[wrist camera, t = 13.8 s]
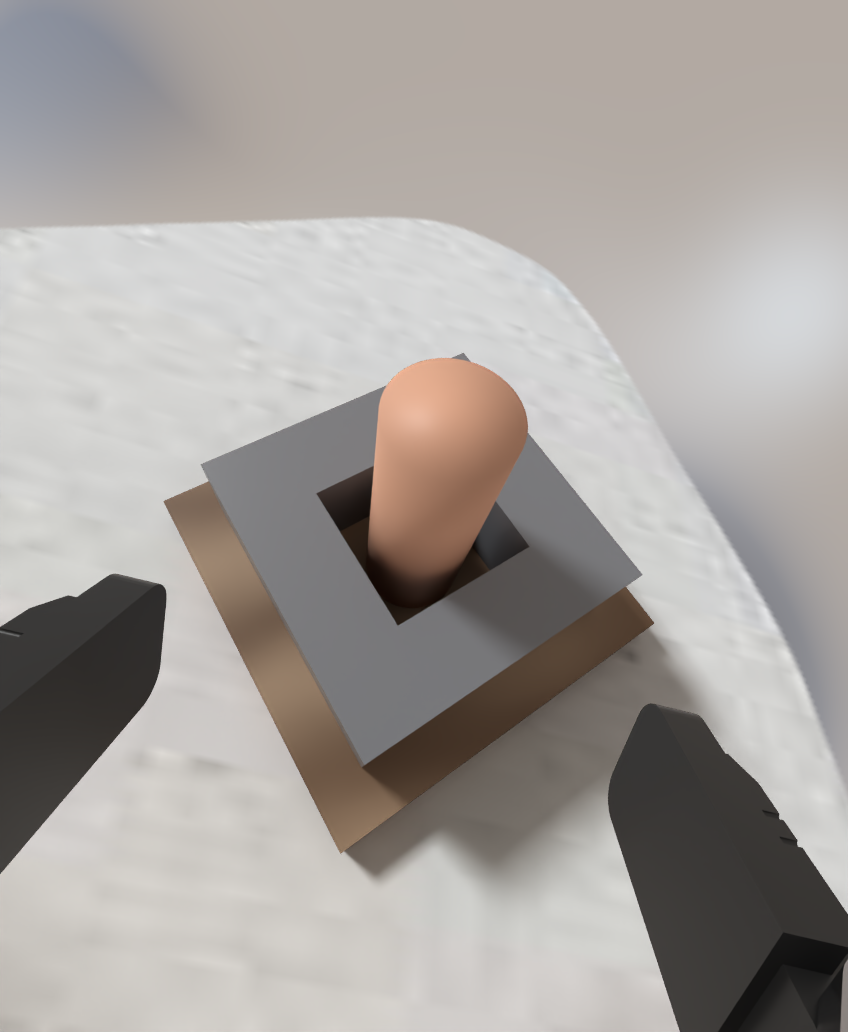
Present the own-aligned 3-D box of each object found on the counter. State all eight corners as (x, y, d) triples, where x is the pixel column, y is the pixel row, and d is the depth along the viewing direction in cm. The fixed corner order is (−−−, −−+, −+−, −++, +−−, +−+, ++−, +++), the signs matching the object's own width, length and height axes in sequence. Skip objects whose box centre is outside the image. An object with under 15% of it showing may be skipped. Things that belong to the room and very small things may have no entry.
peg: (349, 549, 24) (349, 390, 14) (424, 510, 25) (471, 339, 16) (396, 625, 23) (433, 508, 13) (472, 579, 24) (557, 442, 14)
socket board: (173, 515, 25) (163, 501, 24) (452, 390, 31) (456, 372, 29) (340, 848, 20) (340, 853, 19) (638, 631, 26) (654, 623, 24)
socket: (225, 516, 24) (200, 464, 20) (446, 413, 28) (463, 353, 24) (361, 767, 20) (364, 765, 16) (593, 608, 24) (642, 574, 20)
